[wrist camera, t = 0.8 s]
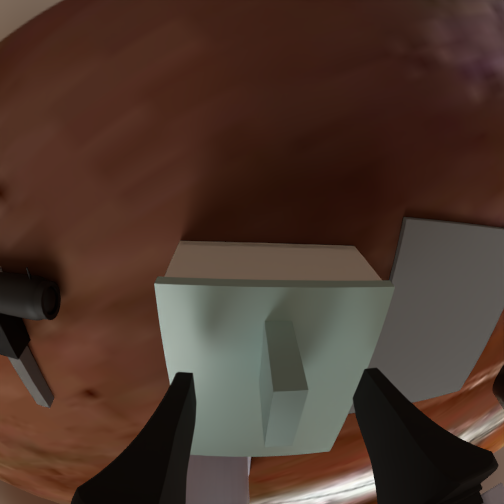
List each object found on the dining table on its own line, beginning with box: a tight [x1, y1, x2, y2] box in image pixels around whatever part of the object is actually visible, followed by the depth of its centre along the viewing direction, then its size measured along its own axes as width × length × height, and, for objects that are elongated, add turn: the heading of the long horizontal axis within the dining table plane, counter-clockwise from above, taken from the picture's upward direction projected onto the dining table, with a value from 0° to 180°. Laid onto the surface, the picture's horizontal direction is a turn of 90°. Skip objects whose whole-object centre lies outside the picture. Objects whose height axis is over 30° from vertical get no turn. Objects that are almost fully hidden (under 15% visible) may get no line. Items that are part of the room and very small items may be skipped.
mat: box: [348, 217, 504, 414], centre depth 21 cm, size 18×14×1 cm
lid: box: [154, 277, 395, 457], centre depth 14 cm, size 14×10×6 cm
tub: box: [164, 241, 381, 281], centre depth 18 cm, size 14×10×4 cm
